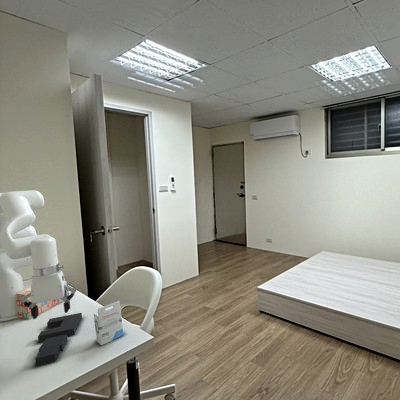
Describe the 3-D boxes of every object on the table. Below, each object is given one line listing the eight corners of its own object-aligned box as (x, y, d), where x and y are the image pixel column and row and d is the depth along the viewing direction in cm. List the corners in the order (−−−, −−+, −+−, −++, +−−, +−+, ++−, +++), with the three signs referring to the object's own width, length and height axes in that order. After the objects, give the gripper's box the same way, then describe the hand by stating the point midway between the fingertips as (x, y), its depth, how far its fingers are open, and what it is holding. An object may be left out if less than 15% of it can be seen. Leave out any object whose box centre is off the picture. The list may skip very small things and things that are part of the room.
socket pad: (38, 342, 104) (37, 336, 104) (50, 324, 117) (49, 318, 117) (74, 334, 109) (73, 328, 109) (82, 318, 122) (81, 312, 121)
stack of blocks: (59, 296, 145) (58, 275, 143) (69, 298, 143) (67, 276, 142) (17, 318, 124) (15, 292, 122) (28, 319, 123) (26, 294, 121)
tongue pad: (46, 345, 102) (45, 338, 102) (67, 340, 105) (67, 334, 105) (33, 366, 91) (32, 359, 91) (57, 360, 93) (57, 353, 93)
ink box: (118, 330, 111) (115, 297, 109) (123, 335, 107) (120, 300, 106) (95, 341, 104) (92, 305, 103) (100, 346, 101) (97, 309, 99)
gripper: (76, 263, 105) (80, 305, 107) (21, 271, 99) (27, 315, 100) (71, 269, 98) (76, 313, 100) (12, 278, 92) (18, 325, 93)
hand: (51, 314), depth 100 cm, fingers open, 9 cm apart
